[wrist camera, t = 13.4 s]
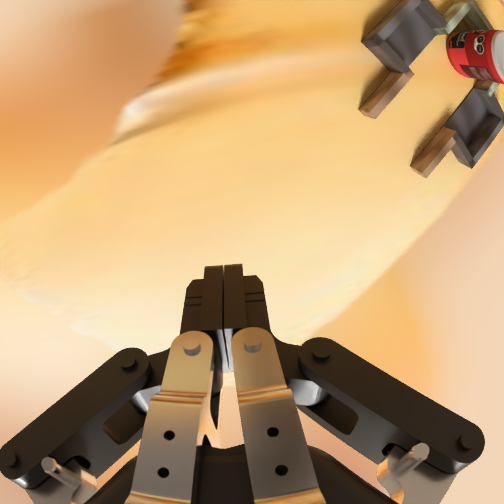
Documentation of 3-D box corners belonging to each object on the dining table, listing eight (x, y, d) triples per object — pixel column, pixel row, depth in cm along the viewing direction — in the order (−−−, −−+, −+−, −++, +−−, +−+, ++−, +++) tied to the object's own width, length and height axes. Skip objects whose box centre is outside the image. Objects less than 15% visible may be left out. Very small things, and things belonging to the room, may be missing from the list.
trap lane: (432, 194, 42) (447, 205, 39) (326, 79, 33) (337, 79, 29) (511, 90, 32) (528, 94, 28) (430, -27, 22) (447, -33, 19)
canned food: (466, 27, 27) (514, 27, 18) (483, 70, 31) (530, 79, 21) (437, 35, 29) (486, 34, 19) (456, 82, 32) (505, 92, 23)
